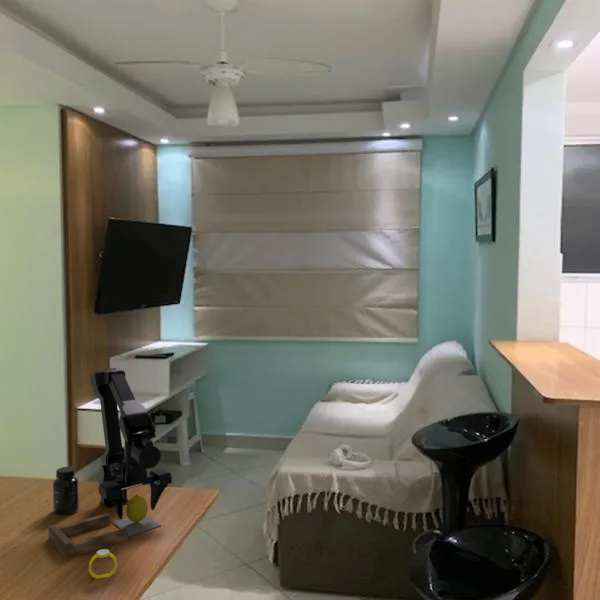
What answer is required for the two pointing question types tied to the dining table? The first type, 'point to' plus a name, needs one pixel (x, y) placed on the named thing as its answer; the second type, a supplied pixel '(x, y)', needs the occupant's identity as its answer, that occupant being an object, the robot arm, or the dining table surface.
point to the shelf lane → (72, 549)
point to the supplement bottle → (65, 492)
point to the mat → (137, 525)
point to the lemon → (136, 508)
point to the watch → (102, 554)
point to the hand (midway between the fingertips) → (136, 514)
